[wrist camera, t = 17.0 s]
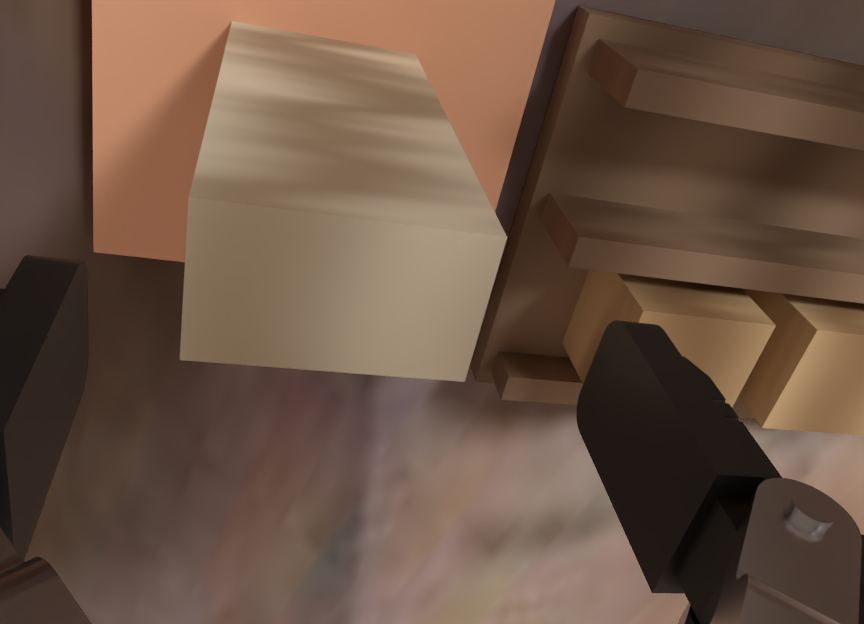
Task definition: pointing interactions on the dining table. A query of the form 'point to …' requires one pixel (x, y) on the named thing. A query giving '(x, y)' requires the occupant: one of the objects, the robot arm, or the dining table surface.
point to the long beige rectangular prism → (334, 216)
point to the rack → (676, 185)
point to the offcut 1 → (674, 323)
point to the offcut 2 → (809, 365)
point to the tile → (301, 13)
